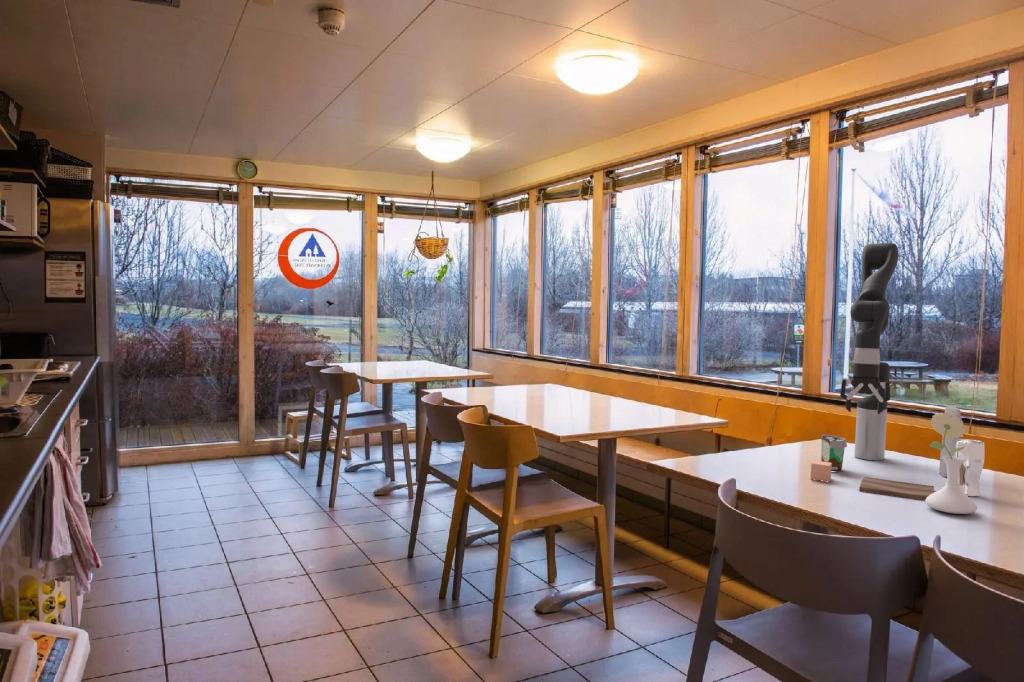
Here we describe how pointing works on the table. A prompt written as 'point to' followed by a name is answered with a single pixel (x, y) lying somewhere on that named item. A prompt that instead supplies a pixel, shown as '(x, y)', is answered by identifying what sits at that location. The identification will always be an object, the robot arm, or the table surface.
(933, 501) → the flower in vase
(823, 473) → the terracotta cube
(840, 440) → the food container
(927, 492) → the walnut board
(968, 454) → the beer glass
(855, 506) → the table surface
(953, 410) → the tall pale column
